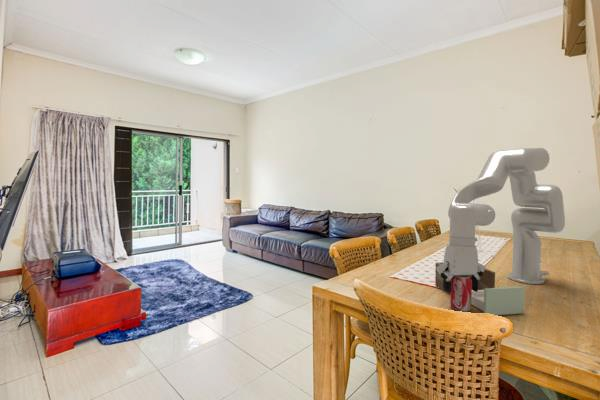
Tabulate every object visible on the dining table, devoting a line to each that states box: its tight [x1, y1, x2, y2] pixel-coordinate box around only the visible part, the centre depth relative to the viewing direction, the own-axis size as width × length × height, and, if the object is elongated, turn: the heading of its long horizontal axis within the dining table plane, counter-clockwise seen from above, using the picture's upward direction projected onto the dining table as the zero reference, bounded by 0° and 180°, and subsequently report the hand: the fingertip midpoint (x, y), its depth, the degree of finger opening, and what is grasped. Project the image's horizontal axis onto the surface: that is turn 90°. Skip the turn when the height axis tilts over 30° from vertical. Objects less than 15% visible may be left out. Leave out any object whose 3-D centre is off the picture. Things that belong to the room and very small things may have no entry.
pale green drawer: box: [471, 285, 526, 316], centre depth 99 cm, size 14×15×9 cm
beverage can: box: [449, 275, 473, 313], centre depth 96 cm, size 6×6×12 cm
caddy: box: [434, 261, 496, 296], centre depth 111 cm, size 14×15×10 cm
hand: (460, 290), depth 96 cm, fingers open, 9 cm apart
